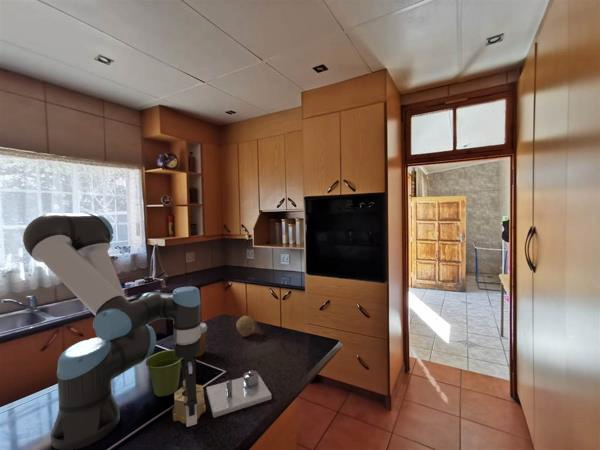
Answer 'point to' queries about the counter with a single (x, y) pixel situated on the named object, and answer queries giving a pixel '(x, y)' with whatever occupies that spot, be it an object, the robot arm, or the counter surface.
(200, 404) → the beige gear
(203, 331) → the disposable coffee cup
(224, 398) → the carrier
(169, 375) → the plant pot
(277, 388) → the counter surface
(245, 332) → the natural sponge
